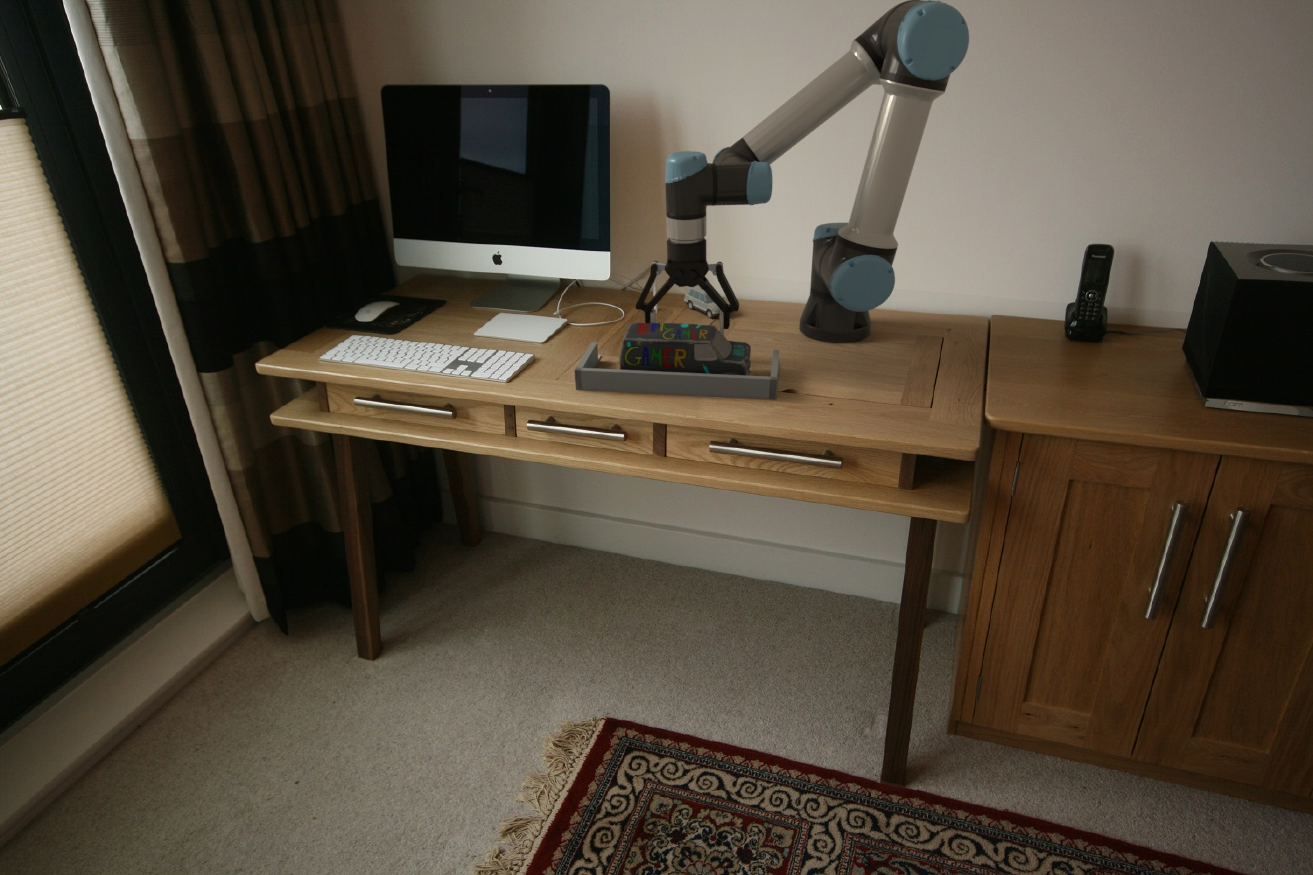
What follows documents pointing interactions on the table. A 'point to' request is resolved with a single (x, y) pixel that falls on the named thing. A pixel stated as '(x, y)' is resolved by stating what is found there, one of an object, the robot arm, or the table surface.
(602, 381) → the bay
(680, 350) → the toy van
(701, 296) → the toy car
